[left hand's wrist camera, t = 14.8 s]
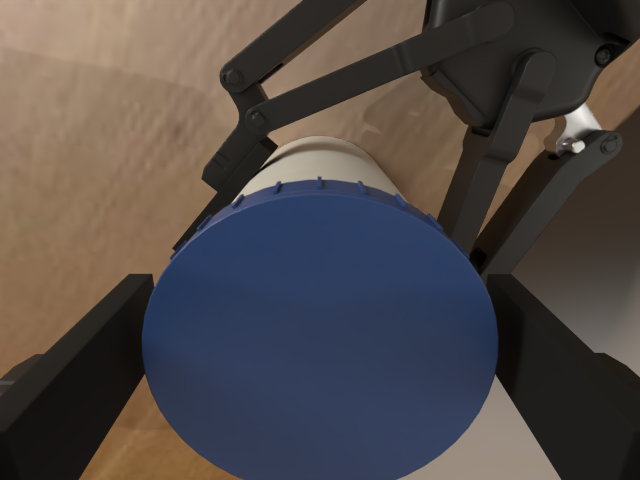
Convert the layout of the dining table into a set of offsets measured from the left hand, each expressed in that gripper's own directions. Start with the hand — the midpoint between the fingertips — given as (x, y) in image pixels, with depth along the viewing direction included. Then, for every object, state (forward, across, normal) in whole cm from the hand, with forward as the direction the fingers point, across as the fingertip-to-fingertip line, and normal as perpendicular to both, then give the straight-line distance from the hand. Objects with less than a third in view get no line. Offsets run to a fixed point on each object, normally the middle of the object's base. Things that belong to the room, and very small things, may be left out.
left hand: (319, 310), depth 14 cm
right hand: (+7, -3, -3) cm, 8 cm away
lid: (-3, 0, 0) cm, 3 cm away
